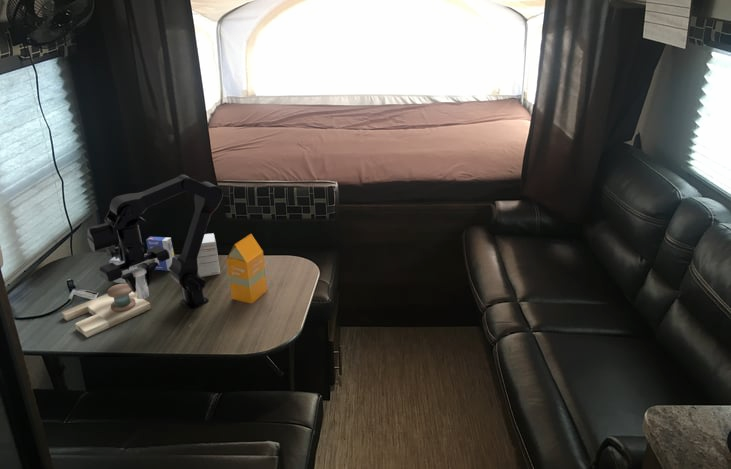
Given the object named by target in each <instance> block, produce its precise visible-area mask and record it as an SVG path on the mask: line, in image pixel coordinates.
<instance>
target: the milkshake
mask: <svg viewBox="0 0 731 469" xmlns="http://www.w3.org/2000/svg"><path fill="white" fill-rule="evenodd" d="M132 269H133V270H131V272H130V273H132V274H133V277H134V283H135V288H136V292H134V293H135V294H136V296H137V298H138V299H144V300H145V299H147V298H148V297H149V294H150V293H149V286H148V284H147V273H146V270H145V269H144V268H143V267H142V266H141V267H137V268H136V269H134V268H133V267H132Z"/></svg>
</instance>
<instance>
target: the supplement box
mask: <svg viewBox="0 0 731 469" xmlns="http://www.w3.org/2000/svg"><path fill="white" fill-rule="evenodd" d="M219 261H220V260H219V255H218V248H217V241H216V238H215V234H214V232H213V233H205V235H204V238H203V241H202V244H201V248H200V251H199V254H198V257H197V263H198V274H197V275H199V276H200V277H201V278H203V277H208V276H216V275H219V274H221V268H220V263H219Z"/></svg>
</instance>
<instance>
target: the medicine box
mask: <svg viewBox="0 0 731 469" xmlns="http://www.w3.org/2000/svg"><path fill="white" fill-rule="evenodd" d="M108 262H109V263H108V264H110V263H114V264H115V265H120V264H123V263H124V261H120V260H119V258H117V259H116V258H115V257H113V258H110V260H108ZM133 268H134V269H136V268H138V265H137V266H134V267H133ZM131 270H133V269H132V268H129V272H131ZM113 282H114V283H116V284H127V282H126V281H125V280H124V279H122V278H119V279H117V280H114V281H113Z"/></svg>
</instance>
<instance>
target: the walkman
mask: <svg viewBox="0 0 731 469" xmlns="http://www.w3.org/2000/svg"><path fill="white" fill-rule="evenodd" d="M145 241H146V246H147V250H148V249H150V248H153V247H156V246H160V247H162V248H164V249H166V250H168V252H169V255H170V258H169V259H167V260H165V261H162V262H161V261H159V260H157V258H155V261H156V262H157V263H158V266H156V268H155V270H154V271H169V272H170V269H169V267H170V266H171V264H172V258H173V257H175V251H174V247H173V243H172V237H164V236H163V237H162V236H149V237H148V238H146V240H145Z"/></svg>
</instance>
